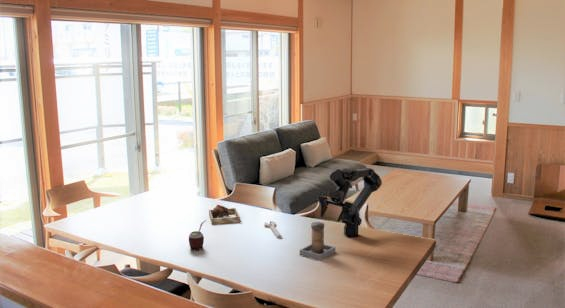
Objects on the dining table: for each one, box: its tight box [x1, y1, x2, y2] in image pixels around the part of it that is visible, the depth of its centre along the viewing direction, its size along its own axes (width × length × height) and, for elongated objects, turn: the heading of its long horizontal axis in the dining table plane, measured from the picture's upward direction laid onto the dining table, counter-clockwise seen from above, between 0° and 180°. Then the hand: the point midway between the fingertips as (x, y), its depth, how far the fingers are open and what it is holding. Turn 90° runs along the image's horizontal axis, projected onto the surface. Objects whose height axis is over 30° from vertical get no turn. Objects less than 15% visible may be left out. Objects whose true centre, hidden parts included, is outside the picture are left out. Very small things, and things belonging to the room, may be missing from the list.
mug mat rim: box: [208, 207, 241, 225], centre depth 301 cm, size 16×18×3 cm
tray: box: [299, 243, 336, 261], centre depth 247 cm, size 13×12×2 cm
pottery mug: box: [212, 204, 230, 218], centre depth 302 cm, size 12×9×8 cm
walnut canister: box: [310, 221, 325, 254], centre depth 245 cm, size 6×6×14 cm
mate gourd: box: [188, 219, 207, 252], centre depth 253 cm, size 8×8×15 cm
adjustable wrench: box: [263, 220, 283, 240], centre depth 279 cm, size 25×6×2 cm, turn 10°
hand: (329, 219), depth 254 cm, fingers open, 9 cm apart
